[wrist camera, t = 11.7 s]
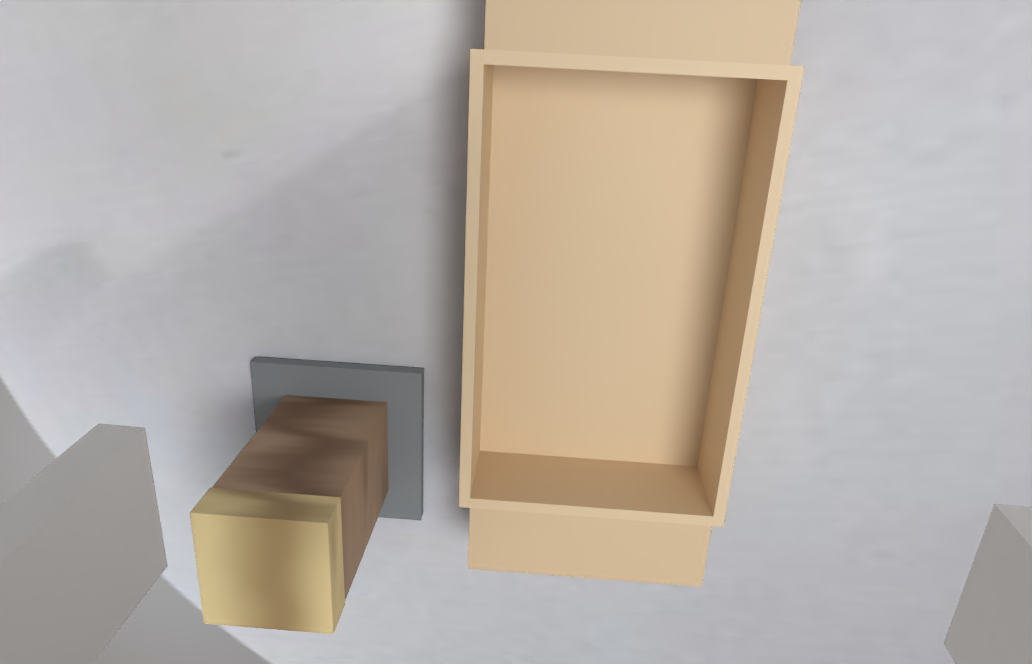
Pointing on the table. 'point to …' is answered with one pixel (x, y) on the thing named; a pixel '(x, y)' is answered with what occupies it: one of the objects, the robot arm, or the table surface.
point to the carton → (616, 275)
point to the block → (293, 516)
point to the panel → (358, 384)
